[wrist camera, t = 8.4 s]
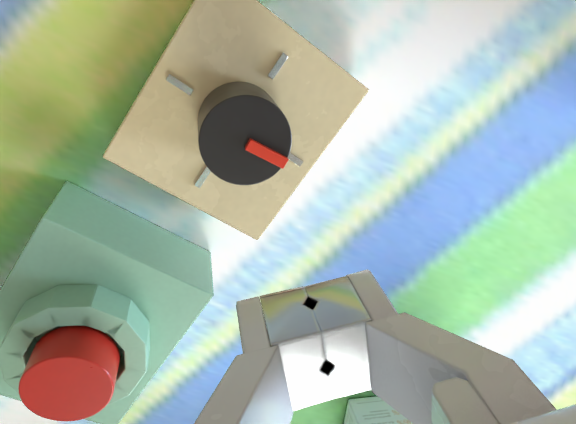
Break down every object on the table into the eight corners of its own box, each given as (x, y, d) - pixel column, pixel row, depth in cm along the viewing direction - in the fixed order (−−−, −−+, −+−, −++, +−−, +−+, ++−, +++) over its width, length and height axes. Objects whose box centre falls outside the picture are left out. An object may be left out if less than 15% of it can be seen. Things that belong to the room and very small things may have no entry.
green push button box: (66, 179, 27) (29, 236, 21) (211, 251, 31) (215, 317, 25) (-16, 323, 30) (-70, 409, 24) (125, 371, 34) (110, 456, 28)
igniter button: (55, 312, 23) (41, 344, 21) (134, 342, 25) (129, 374, 23) (18, 371, 24) (2, 407, 22) (97, 396, 26) (88, 431, 24)
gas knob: (183, 140, 24) (181, 164, 21) (221, 65, 23) (226, 77, 19) (254, 174, 26) (264, 202, 22) (294, 106, 24) (310, 125, 21)
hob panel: (212, -31, 23) (214, -34, 21) (352, 80, 27) (370, 90, 25) (110, 140, 26) (101, 158, 23) (251, 219, 30) (257, 242, 27)
